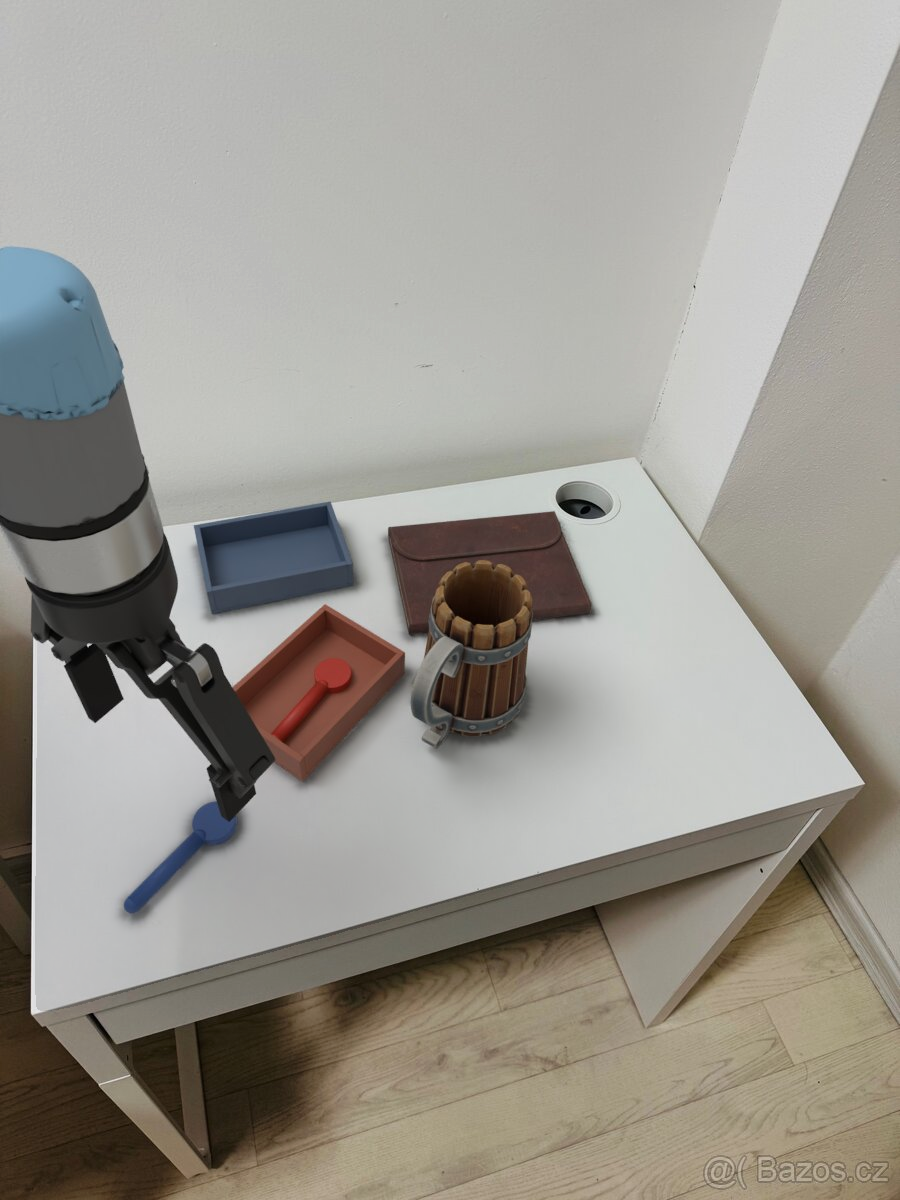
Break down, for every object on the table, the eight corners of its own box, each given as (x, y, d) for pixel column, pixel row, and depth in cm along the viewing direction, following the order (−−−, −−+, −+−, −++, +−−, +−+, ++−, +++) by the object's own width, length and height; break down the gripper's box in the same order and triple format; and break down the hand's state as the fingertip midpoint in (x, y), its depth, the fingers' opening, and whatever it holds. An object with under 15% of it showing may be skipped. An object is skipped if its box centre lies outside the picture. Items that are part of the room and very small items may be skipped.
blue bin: (211, 614, 87) (206, 592, 85) (198, 547, 94) (193, 524, 91) (353, 585, 91) (352, 563, 89) (332, 523, 98) (330, 501, 95)
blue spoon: (143, 928, 66) (139, 921, 65) (112, 901, 67) (108, 894, 66) (245, 821, 72) (243, 814, 71) (215, 799, 74) (213, 791, 73)
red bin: (302, 782, 75) (299, 761, 73) (220, 723, 79) (214, 702, 76) (404, 673, 84) (405, 652, 81) (326, 625, 87) (324, 603, 85)
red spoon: (287, 758, 76) (286, 750, 75) (256, 739, 77) (254, 731, 76) (358, 674, 83) (358, 665, 82) (329, 658, 84) (328, 649, 83)
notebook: (589, 615, 90) (593, 603, 89) (409, 636, 87) (409, 624, 85) (551, 520, 100) (554, 508, 99) (387, 536, 97) (387, 524, 95)
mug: (452, 636, 87) (462, 533, 76) (542, 682, 84) (566, 581, 73) (366, 745, 78) (363, 645, 67) (464, 800, 75) (478, 706, 64)
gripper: (318, 613, 43) (336, 808, 59) (6, 427, 52) (95, 642, 67) (212, 711, 39) (262, 893, 55) (-109, 491, 47) (15, 704, 63)
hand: (170, 755), depth 61 cm, fingers open, 13 cm apart
